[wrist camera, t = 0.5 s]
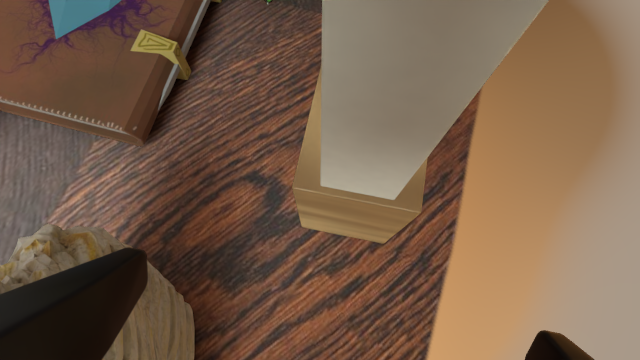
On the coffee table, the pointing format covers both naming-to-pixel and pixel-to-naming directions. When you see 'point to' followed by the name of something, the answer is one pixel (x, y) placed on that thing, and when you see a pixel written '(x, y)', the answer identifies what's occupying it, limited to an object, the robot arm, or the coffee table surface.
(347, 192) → the wood and grey block
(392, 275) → the coffee table surface
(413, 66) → the cream rectangular block
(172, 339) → the fossil tooth
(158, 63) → the book
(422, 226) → the coffee table surface
